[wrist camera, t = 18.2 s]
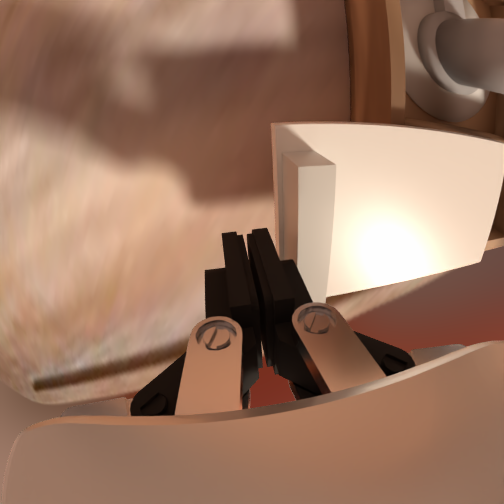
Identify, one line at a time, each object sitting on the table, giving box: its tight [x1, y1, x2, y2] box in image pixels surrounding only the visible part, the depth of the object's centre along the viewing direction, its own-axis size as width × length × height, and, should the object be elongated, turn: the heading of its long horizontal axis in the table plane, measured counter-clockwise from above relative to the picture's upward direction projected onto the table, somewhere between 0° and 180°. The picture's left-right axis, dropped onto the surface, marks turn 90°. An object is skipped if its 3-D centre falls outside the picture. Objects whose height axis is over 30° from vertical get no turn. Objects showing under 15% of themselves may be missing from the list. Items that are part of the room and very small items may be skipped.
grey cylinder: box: [417, 0, 504, 95], centre depth 7 cm, size 6×7×8 cm
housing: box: [344, 0, 504, 251], centre depth 12 cm, size 14×20×4 cm
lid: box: [271, 122, 504, 303], centre depth 11 cm, size 14×8×3 cm, turn 94°
